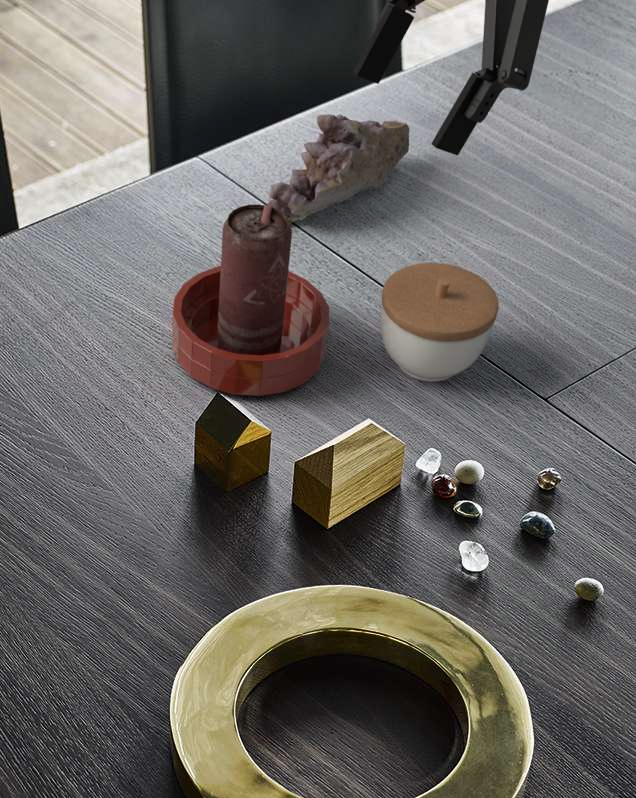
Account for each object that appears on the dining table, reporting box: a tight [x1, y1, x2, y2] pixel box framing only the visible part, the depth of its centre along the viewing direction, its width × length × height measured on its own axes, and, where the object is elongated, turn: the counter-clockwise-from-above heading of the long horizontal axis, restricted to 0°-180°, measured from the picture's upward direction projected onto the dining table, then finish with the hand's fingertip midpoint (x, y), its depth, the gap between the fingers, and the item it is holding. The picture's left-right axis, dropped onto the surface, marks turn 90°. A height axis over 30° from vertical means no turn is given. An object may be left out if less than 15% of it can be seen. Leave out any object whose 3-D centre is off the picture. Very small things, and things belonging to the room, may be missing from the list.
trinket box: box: [379, 262, 500, 383], centre depth 117 cm, size 11×11×9 cm
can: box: [217, 203, 293, 355], centre depth 115 cm, size 6×6×14 cm
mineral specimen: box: [267, 113, 411, 225], centre depth 138 cm, size 20×10×10 cm
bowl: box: [171, 265, 331, 397], centre depth 119 cm, size 15×15×5 cm
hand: (403, 113), depth 110 cm, fingers open, 13 cm apart
